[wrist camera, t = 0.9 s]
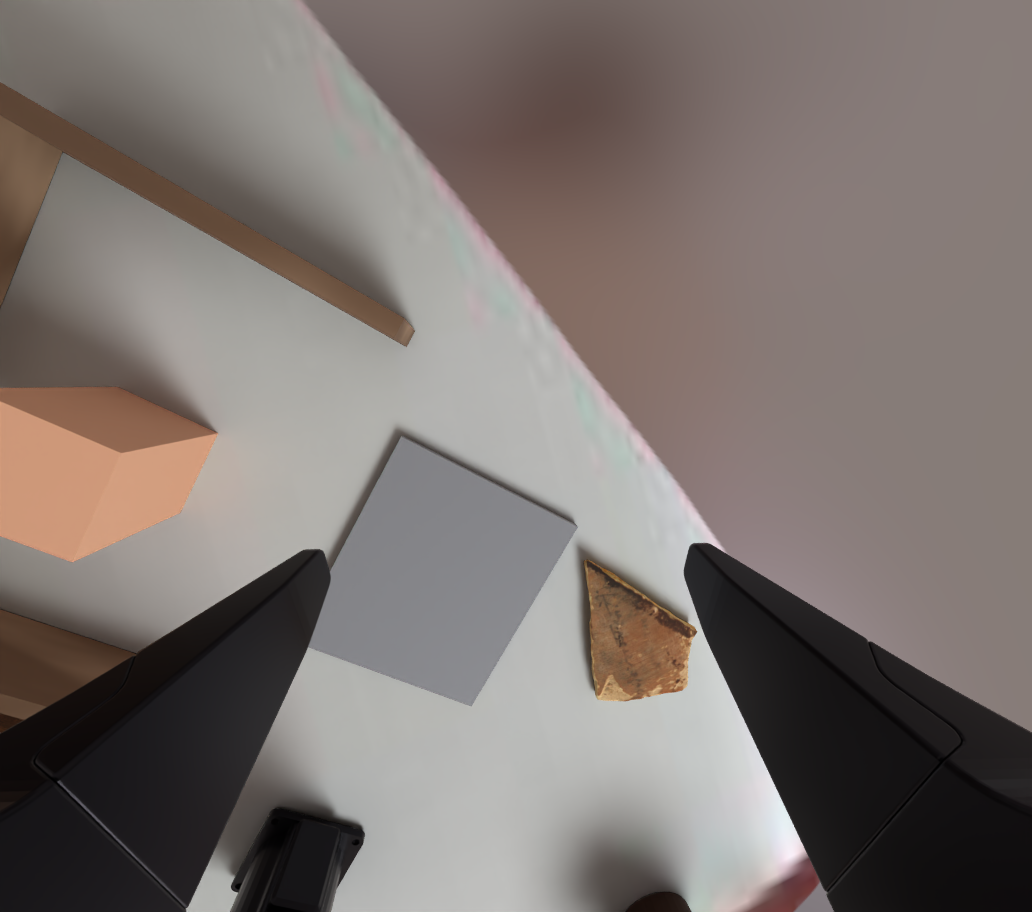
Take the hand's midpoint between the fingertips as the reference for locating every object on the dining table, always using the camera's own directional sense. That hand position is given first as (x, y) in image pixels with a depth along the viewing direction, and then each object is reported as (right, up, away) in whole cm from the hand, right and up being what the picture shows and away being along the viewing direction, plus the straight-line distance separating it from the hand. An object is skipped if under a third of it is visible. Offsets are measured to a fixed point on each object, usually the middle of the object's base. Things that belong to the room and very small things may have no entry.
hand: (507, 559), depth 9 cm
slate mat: (-5, -5, +14) cm, 16 cm away
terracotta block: (-19, +3, +11) cm, 22 cm away
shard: (+7, -10, +18) cm, 22 cm away
